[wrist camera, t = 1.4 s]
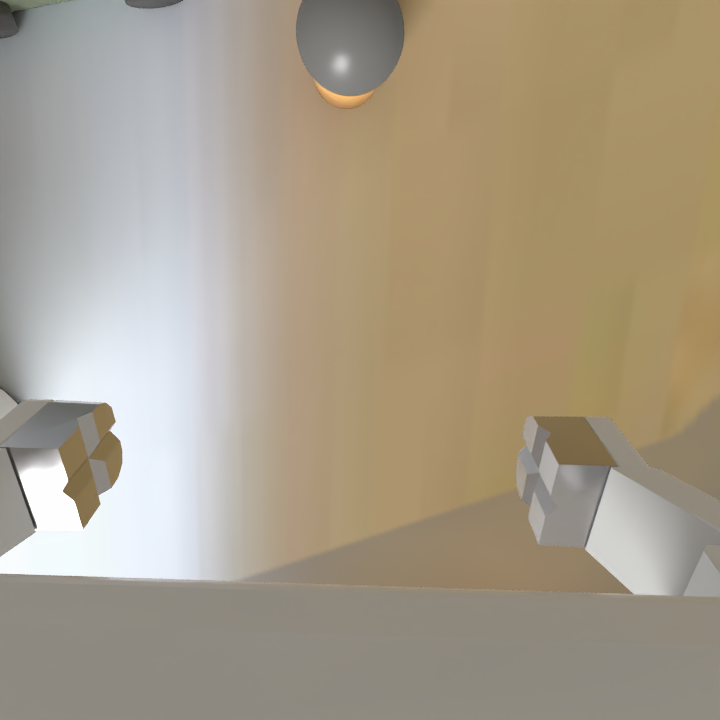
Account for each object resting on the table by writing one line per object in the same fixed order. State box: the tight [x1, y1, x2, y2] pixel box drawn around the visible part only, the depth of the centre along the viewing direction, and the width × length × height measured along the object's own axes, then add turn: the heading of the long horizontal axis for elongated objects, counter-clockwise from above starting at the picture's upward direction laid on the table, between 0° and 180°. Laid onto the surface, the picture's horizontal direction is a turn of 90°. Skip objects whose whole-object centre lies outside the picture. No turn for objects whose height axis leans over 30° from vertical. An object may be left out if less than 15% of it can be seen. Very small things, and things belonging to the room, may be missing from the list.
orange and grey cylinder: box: [296, 0, 404, 109], centre depth 32 cm, size 5×5×14 cm
